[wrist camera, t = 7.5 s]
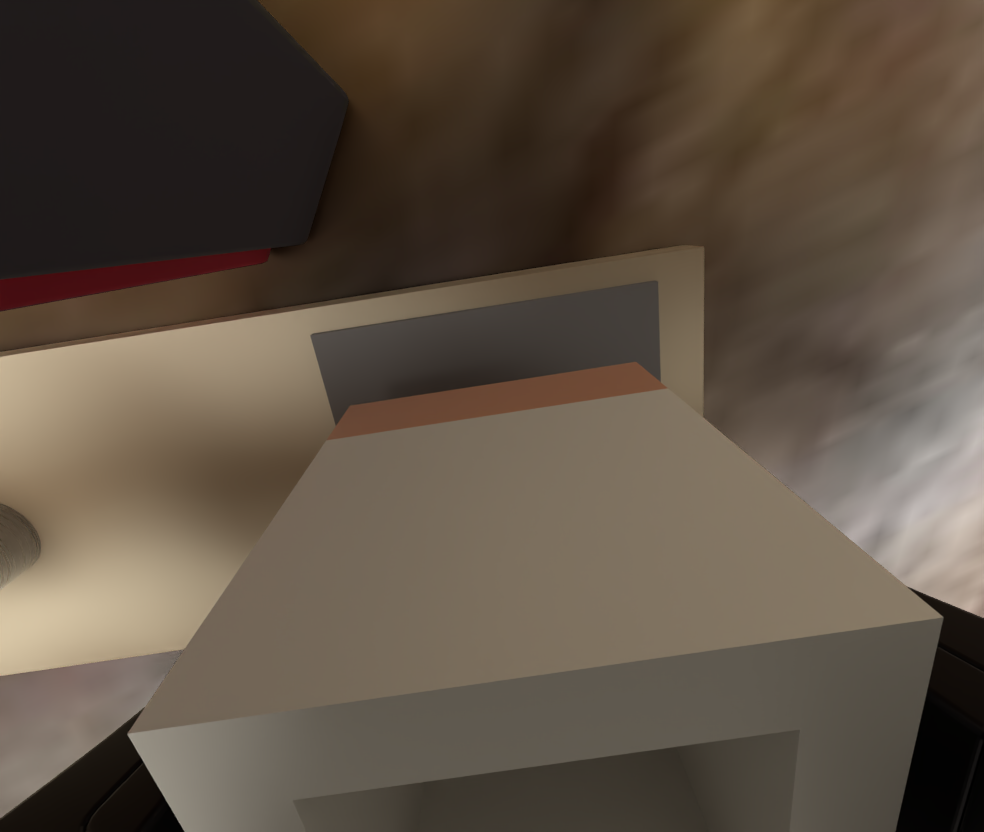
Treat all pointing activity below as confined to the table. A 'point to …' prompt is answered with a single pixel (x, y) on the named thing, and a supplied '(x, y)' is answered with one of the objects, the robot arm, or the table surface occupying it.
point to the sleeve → (544, 635)
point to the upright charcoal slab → (153, 142)
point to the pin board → (271, 427)
